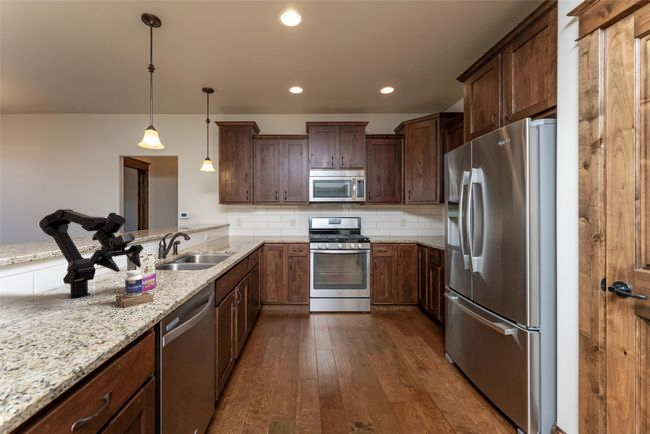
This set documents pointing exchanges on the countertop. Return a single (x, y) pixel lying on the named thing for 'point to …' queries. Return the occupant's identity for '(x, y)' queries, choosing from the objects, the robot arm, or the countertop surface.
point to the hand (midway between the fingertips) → (129, 269)
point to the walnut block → (134, 299)
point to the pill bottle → (133, 283)
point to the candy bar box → (145, 270)
